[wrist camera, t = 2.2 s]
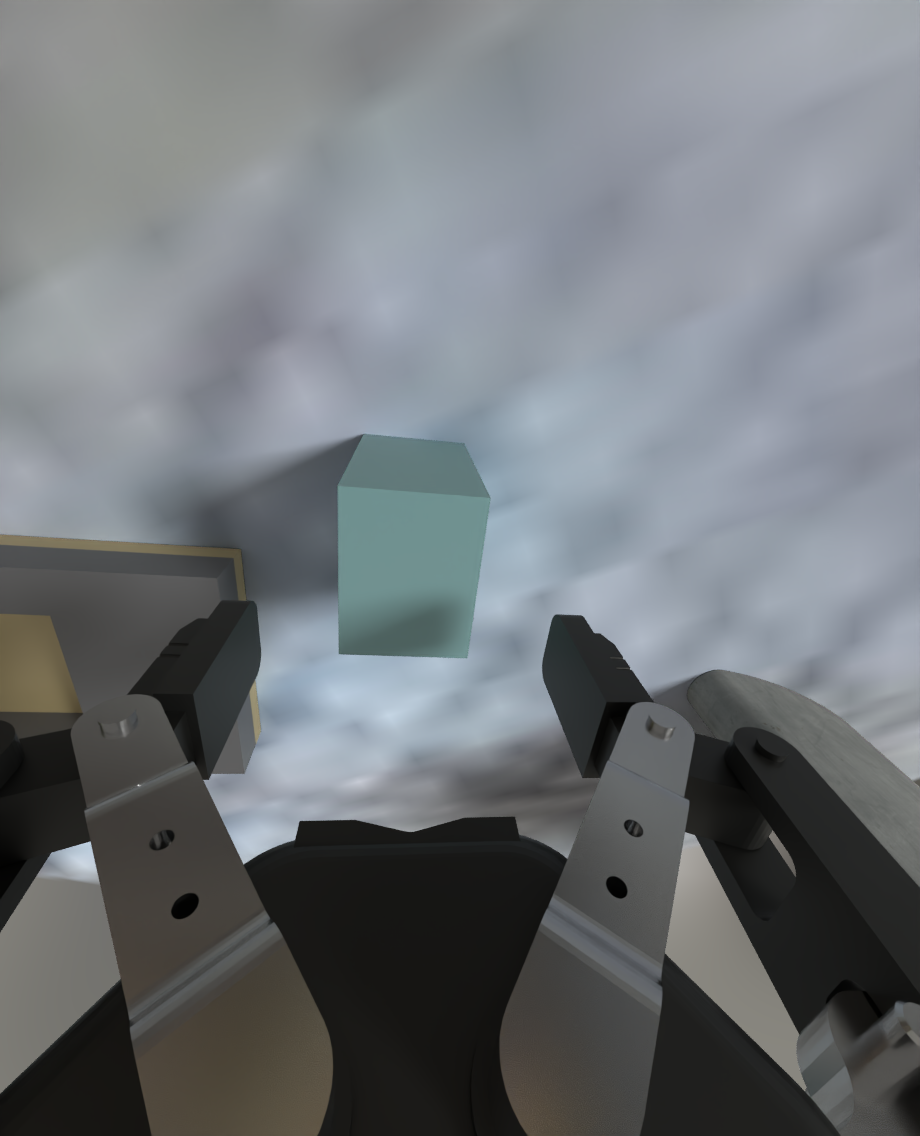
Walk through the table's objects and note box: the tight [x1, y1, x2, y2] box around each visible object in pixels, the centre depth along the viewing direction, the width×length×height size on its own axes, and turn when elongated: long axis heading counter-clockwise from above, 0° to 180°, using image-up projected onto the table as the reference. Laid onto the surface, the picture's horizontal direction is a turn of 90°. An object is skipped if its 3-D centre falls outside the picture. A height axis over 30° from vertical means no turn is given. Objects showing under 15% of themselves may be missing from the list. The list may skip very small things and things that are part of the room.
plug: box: [337, 434, 490, 658], centre depth 18 cm, size 6×4×8 cm
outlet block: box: [0, 535, 261, 774], centre depth 22 cm, size 12×20×3 cm, turn 84°
